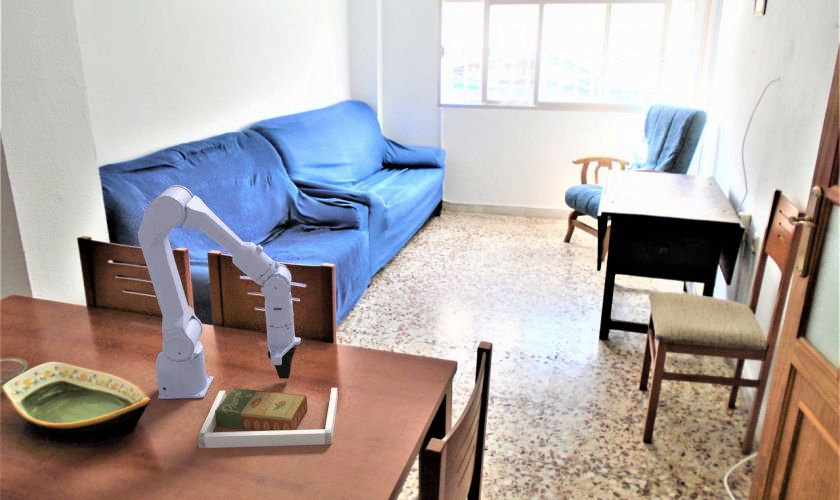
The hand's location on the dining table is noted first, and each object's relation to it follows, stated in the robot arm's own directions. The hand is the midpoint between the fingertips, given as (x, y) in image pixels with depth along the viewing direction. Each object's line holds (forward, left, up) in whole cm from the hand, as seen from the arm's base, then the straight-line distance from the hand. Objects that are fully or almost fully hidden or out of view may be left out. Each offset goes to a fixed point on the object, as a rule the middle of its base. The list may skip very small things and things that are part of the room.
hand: (284, 376), depth 129 cm
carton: (-2, -13, -2) cm, 14 cm away
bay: (0, -14, -1) cm, 14 cm away
